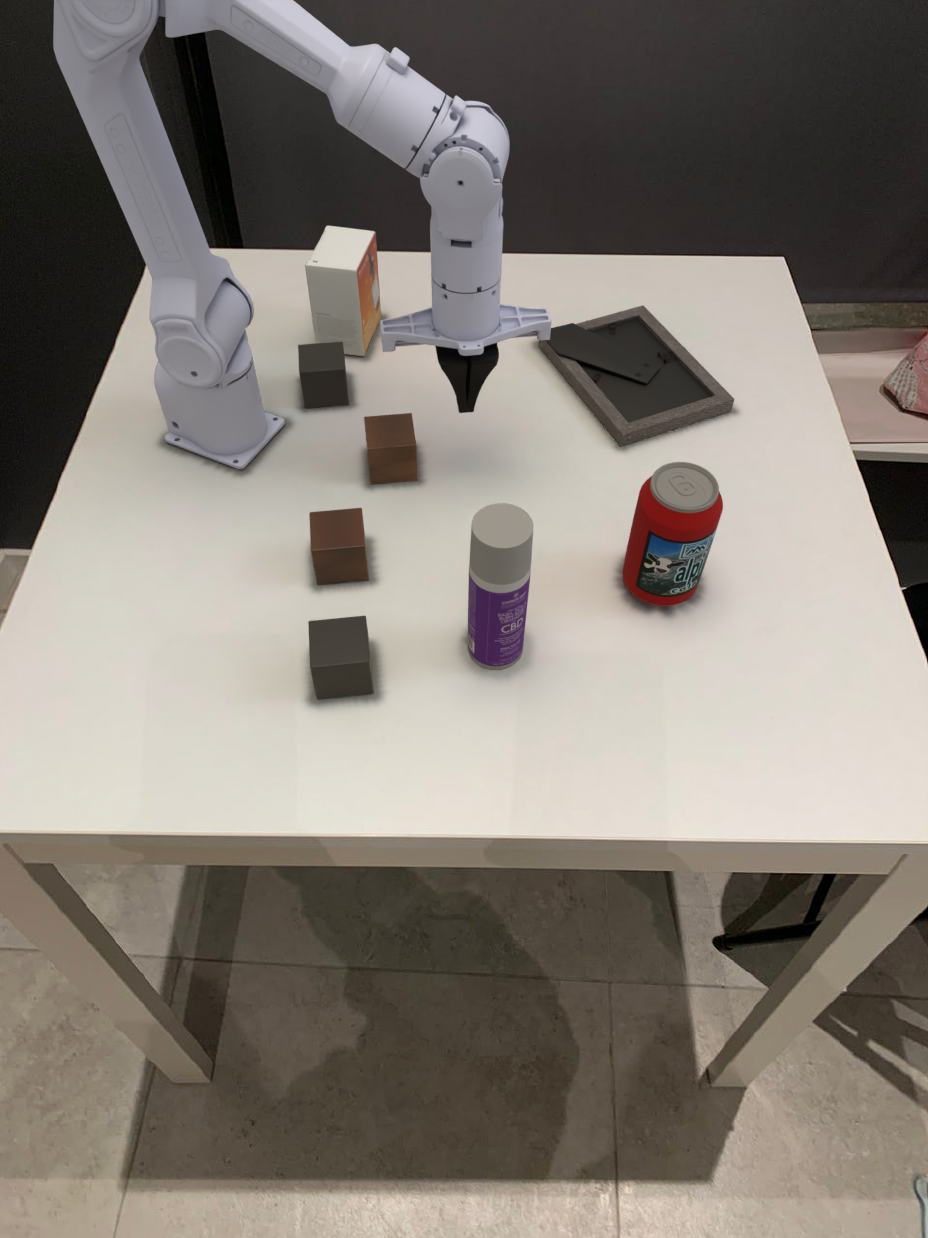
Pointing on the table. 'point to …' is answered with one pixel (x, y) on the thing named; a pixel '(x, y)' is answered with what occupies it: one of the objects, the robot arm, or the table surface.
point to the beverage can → (672, 533)
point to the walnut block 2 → (391, 448)
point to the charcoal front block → (340, 657)
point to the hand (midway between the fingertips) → (465, 405)
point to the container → (498, 584)
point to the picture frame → (634, 375)
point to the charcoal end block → (323, 374)
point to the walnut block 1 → (338, 546)
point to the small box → (344, 288)
